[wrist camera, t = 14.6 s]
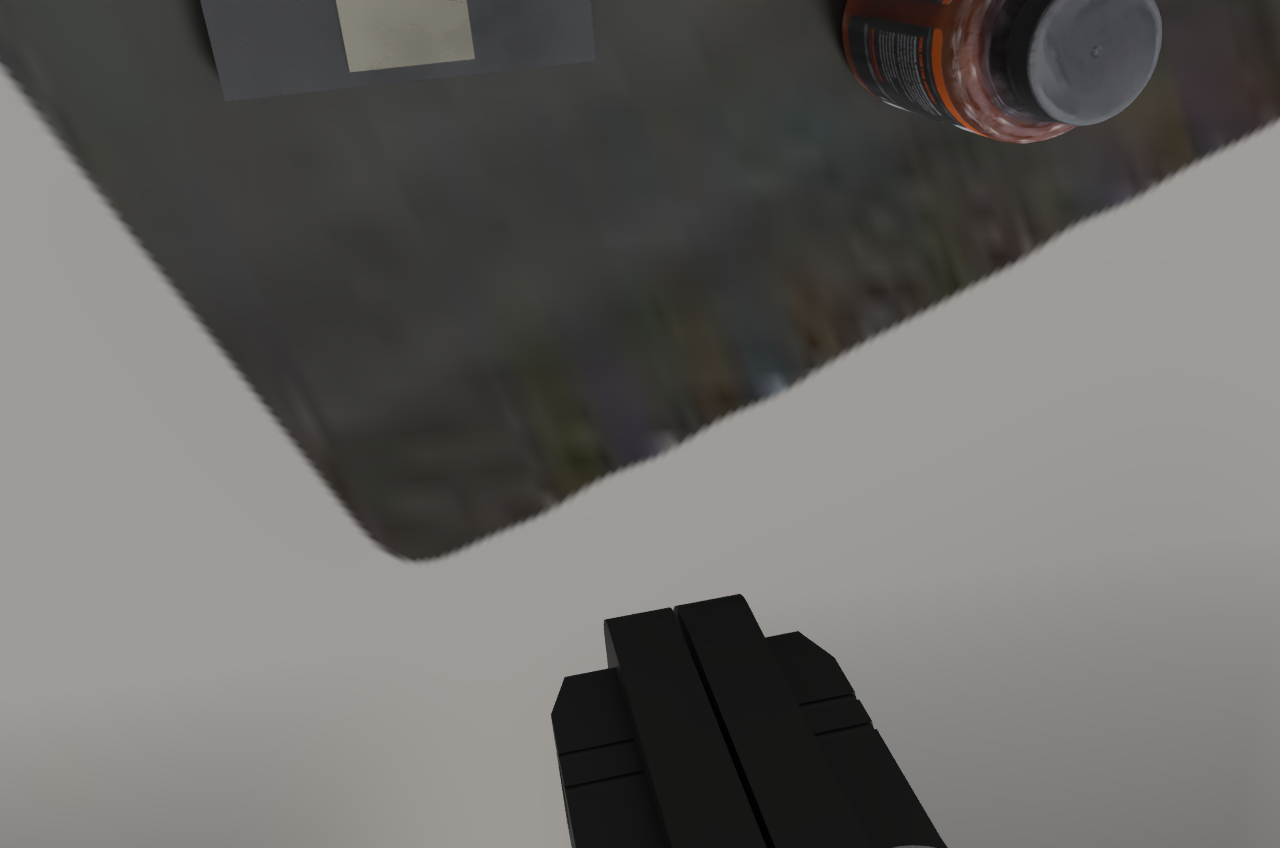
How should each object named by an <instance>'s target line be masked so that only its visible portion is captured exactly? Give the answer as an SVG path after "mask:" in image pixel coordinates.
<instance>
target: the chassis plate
mask: <svg viewBox="0 0 1280 848" xmlns="http://www.w3.org/2000/svg"><path fill="white" fill-rule="evenodd" d="M200 2H201V6H202V10H203V14H204V18H205V22H206V26H207V30H208V34H209V38H210V42H211V46H212V50H213V55H214V59H215V63H216V67H217V71H218V75H219V79H220V83H221V87H222V91H223V95H224V99H225V102H226V101H235V100H245V99H254V98H263V97H272V96H281V95H290V94H299V93H309V92H318V91H327V90H336V89H345V88H354V87H364V86H373V85H382V84H391V83H400V82H409V81H418V80H428V79H437V78H446V77H455V76H464V75H473V74H482V73H492V72H501V71H510V70H519V69H528V68H537V67H546V66H556V65H565V64H574V63H583V62H592V61H596V51H595V41H594V30H593V19H592V8H591V0H200Z"/></svg>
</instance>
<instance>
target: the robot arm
mask: <svg viewBox="0 0 1280 848" xmlns="http://www.w3.org/2000/svg"><path fill="white" fill-rule="evenodd" d="M604 634H605V644H606V652H607V661H608V669H604V670H599V671H594V672H589V673H583V674H579V675H573V676H568V677H565V678H564V681H563V683H562V686H561V689H560V692H559V694H558V697H557V700H556V702H555V705H554V708H553V711H552V713H551V718H552V725H553V731H554V737H555V744H556V750H557V757H558V764H559V771H560V777H561V784H562V791H563V797H564V803H565V811H566V817H567V824H568V829H569V834H570V840H571V845H572V848H947V846H946V845H945V843H944V842H943V841H942V839H941V838H940V836H939V834H938V832H937V831H936V829H935V827H934V825H933V824H932V822H931V820H930V819H929V817H928V816H927V814H926V812H925V810H924V809H923V807H922V805H921V804H920V802H919V800H918V799H917V797H916V795H915V793H914V792H913V790H912V788H911V787H910V785H909V783H908V781H907V780H906V778H905V776H904V775H903V773H902V771H901V770H900V768H899V766H898V765H897V763H896V761H895V759H894V758H893V756H892V754H891V753H890V751H889V749H888V747H887V746H886V744H885V742H884V741H883V739H882V737H881V736H880V734H879V732H878V731H877V729H875V730H874V728H873V725H872V720H871V719H870V717H869V715H868V714H867V712H866V710H865V709H864V707H863V705H862V704H861V702H860V700H857V699H856V696H855V692H854V690H853V688H852V686H851V685H850V683H849V681H848V680H847V678H846V676H845V675H844V673H843V672H842V670H841V668H840V666H839V665H838V663H837V661H836V659H835V658H834V657H833V656H831V655H830V654H829V653H827V652H826V651H825V650H823V649H822V648H821V647H819V646H818V645H816V644H815V643H814V642H812V641H811V640H809V639H808V638H807V637H805V636H804V635H803V634H801V633H800V632H799V631H797V632H792V633H787V634H781V635H776V636H771V637H766V638H765V637H764V635H763V633H762V631H761V629H760V627H759V625H758V623H757V621H756V619H755V617H754V615H753V613H752V611H751V609H750V608H749V605H748V603H747V602H746V600H745V598H744V597H743V596H742V595H741V594H737V595H732V596H726V597H721V598H716V599H710V600H705V601H700V602H695V603H690V604H684V605H678V606H675V607H674V610H672V609H671V608H664V609H659V610H654V611H648V612H643V613H637V614H632V615H627V616H622V617H616V618H611V619H606V620H604Z"/></svg>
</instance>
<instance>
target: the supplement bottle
mask: <svg viewBox="0 0 1280 848" xmlns="http://www.w3.org/2000/svg"><path fill="white" fill-rule="evenodd" d="M842 37H843V45H844V51H845V55H846V58H847V61H848V64H849V66H850V68H851V70H852V72H853V74H854V76H855V77H856V79H857V81H858V82H859V83H860V84H861V85H862V86H863V87H864V88H865V89H866V90H867V91H868V92H869V93H870V94H872V95H874V96H875V97H877V98H878V99H880V100H882V101H884V102H886V103H888V104H890V105H892V106H895V107H898V108H901V109H904V110H907V111H910V112H913V113H915V114H918V115H922V116H925V117H927V118H931V119H934V120H937V121H940V122H943V123H945V124H948V125H952V126H954V127H957V128H961V129H964V130H967V131H970V132H973V133H977V134H980V135H983V136H986V137H989V138H992V139H996V140H999V141H1004V142H1010V143H1020V144H1021V143H1033V142H1039V141H1043V140H1047V139H1049V138H1053V137H1055V136H1058V135H1061V134H1063V133H1066V132H1067V131H1068V130H1071V129H1073V128H1074V127H1076V126H1084V125H1092V124H1096V123H1100V122H1102V121H1105V120H1107V119H1109V118H1111V117H1113V116H1115V115H1116V114H1118V113H1120V112H1121V111H1122V110H1123V109H1125V108H1126V107H1127V106H1129V105H1130V104H1131V102H1132V101H1133V100H1135V99H1136V97H1137V96H1138V95H1139V94H1140V92H1141V91H1142V89H1143V88H1144V87H1145V86H1146V84H1147V82H1148V81H1149V79H1150V77H1151V75H1152V73H1153V71H1154V68H1155V66H1156V63H1157V60H1158V56H1159V51H1160V49H1161V42H1162V19H1161V16H1160V12H1159V9H1158V6H1157V4H1156V2H1155V0H847V3H846V6H845V10H844V16H843V21H842Z"/></svg>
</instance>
